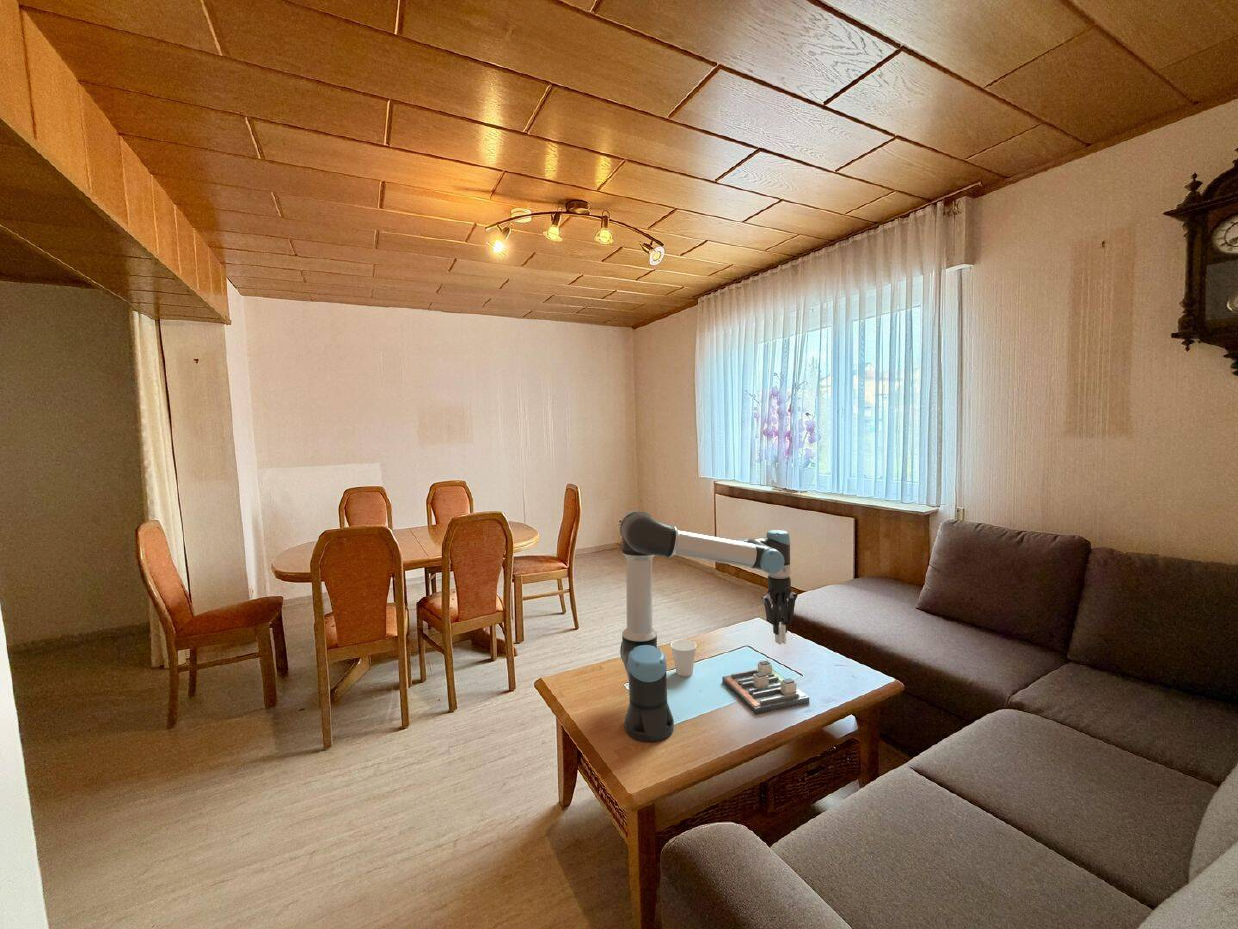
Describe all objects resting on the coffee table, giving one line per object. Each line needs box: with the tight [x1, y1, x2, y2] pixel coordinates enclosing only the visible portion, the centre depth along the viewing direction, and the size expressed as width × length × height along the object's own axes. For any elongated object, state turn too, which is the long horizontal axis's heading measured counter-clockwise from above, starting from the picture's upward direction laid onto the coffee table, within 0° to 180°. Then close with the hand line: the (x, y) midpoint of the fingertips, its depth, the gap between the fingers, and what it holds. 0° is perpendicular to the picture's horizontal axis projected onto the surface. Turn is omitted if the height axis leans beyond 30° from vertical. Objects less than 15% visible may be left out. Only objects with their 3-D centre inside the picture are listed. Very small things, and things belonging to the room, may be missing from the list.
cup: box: [669, 639, 698, 678], centre depth 183 cm, size 10×10×11 cm
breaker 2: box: [753, 672, 769, 688], centre depth 167 cm, size 4×3×4 cm
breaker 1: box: [757, 660, 773, 674], centre depth 175 cm, size 4×3×4 cm
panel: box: [721, 668, 810, 716], centre depth 167 cm, size 20×22×3 cm
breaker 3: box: [781, 677, 798, 695], centre depth 162 cm, size 4×3×4 cm
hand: (780, 642), depth 168 cm, fingers closed
